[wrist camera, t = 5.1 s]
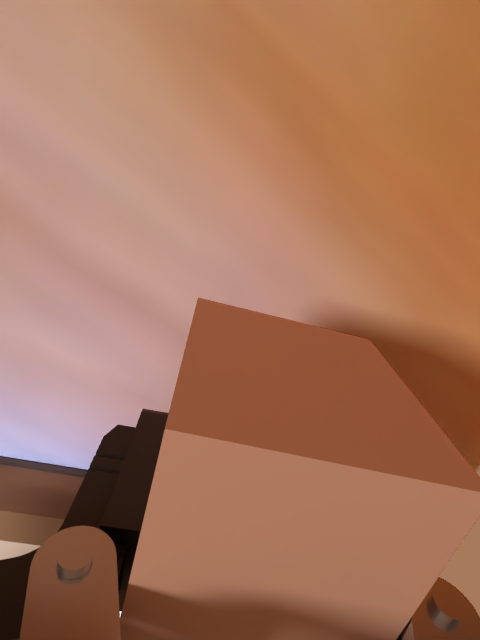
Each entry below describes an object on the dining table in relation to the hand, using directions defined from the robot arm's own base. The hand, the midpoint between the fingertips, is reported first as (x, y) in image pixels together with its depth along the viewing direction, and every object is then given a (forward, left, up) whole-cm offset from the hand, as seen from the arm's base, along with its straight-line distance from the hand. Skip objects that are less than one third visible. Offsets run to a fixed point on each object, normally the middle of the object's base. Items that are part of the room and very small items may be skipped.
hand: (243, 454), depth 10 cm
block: (0, 0, 0) cm, 0 cm away
